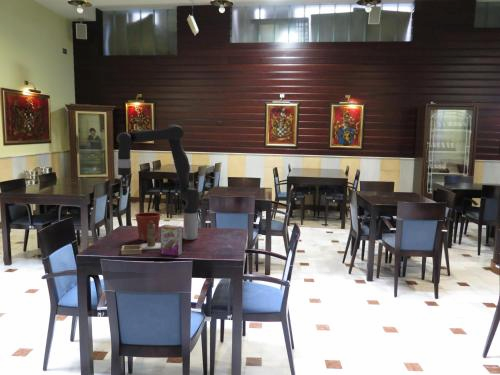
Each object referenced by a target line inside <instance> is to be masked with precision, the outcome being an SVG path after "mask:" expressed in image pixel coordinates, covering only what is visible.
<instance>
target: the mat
mask: <svg viewBox="0 0 500 375" xmlns="http://www.w3.org/2000/svg"><path fill="white" fill-rule="evenodd" d="M140 245H142V250H161V242H155V246H151V247H150V246H147V242H146V243H144V242H143V243H140Z"/></svg>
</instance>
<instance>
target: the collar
mask: <svg viewBox="0 0 500 375" xmlns="http://www.w3.org/2000/svg"><path fill="white" fill-rule="evenodd" d="M142 252H143V249H142V245H141V244H131V245H130V244H125V245H122V246H121V250H120V254H121V256H123V255H124V256H125V255H128V256H129V255H142V254H143V253H142Z"/></svg>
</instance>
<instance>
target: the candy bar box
mask: <svg viewBox="0 0 500 375" xmlns="http://www.w3.org/2000/svg"><path fill="white" fill-rule="evenodd" d="M182 230H183V225H181V226H180V225H170V224H163V225H161V226H160V243H161V249H160V255H164V256H165V255H167V256H174V257H179V256H180V255H182V253H183V252H182V251H183V249H182V248H183V246H182V244H183V242H182V241H183V236H182V235H183V231H182Z"/></svg>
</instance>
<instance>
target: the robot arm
mask: <svg viewBox="0 0 500 375" xmlns="http://www.w3.org/2000/svg"><path fill="white" fill-rule="evenodd" d="M184 134H185V131H184V129H183V127H182V126H180V125H177V124H169V125H167V127H166V128H164V129H163V128H162V129H143V130H136V131H127V132H126V131H125V132H120V133H118V134H117V135H116V142H117V143H118V146H119V147H118V150H117V175H118V176H121V178H120V182H121V183H120V184H121V185H120V186H121V190H122V194H121V195H122V196H127V194H128V186H129V177H128V176H131V175H132V162H131V148H132V144H140V143H148V142H154V141H155V142H156V141H163V140H164V141H165V140H167V141H168V144H169V147H170V150H171V156H172V160H173V164H174V168H175V172H176V175H177V180H178V184H179V185H178V186H179V191H180V197H181V200H183V201H184V202H186V203H187V204H186V206H185V207H184V208H183V209H182V210H183V214H182V215H183V217H182V218H183V220H182V221H183V222H182V223H183V225H182V230H183V231H182V235H183V236H182V239H184V240H187V241H188V240H189V241H190V240H197V239H198V233H199V232H198V230H199V229H198V226H199V225H198V223H199V221H198V211H199V208H200V192H199V190H198V189H196V188H193V187H192V188H191V186H190V181H189V176H190V171H191V166H190V161H189V158H188V155H187V153H186V152H185V150H184V148H183V145H182V141H181V139H182V138H183V137H184Z"/></svg>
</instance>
